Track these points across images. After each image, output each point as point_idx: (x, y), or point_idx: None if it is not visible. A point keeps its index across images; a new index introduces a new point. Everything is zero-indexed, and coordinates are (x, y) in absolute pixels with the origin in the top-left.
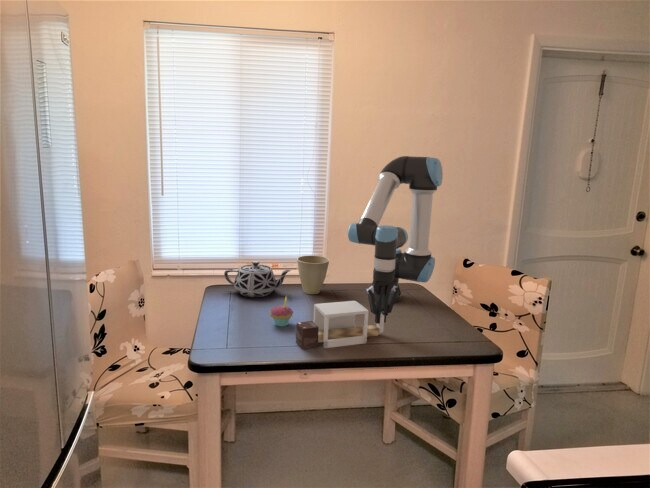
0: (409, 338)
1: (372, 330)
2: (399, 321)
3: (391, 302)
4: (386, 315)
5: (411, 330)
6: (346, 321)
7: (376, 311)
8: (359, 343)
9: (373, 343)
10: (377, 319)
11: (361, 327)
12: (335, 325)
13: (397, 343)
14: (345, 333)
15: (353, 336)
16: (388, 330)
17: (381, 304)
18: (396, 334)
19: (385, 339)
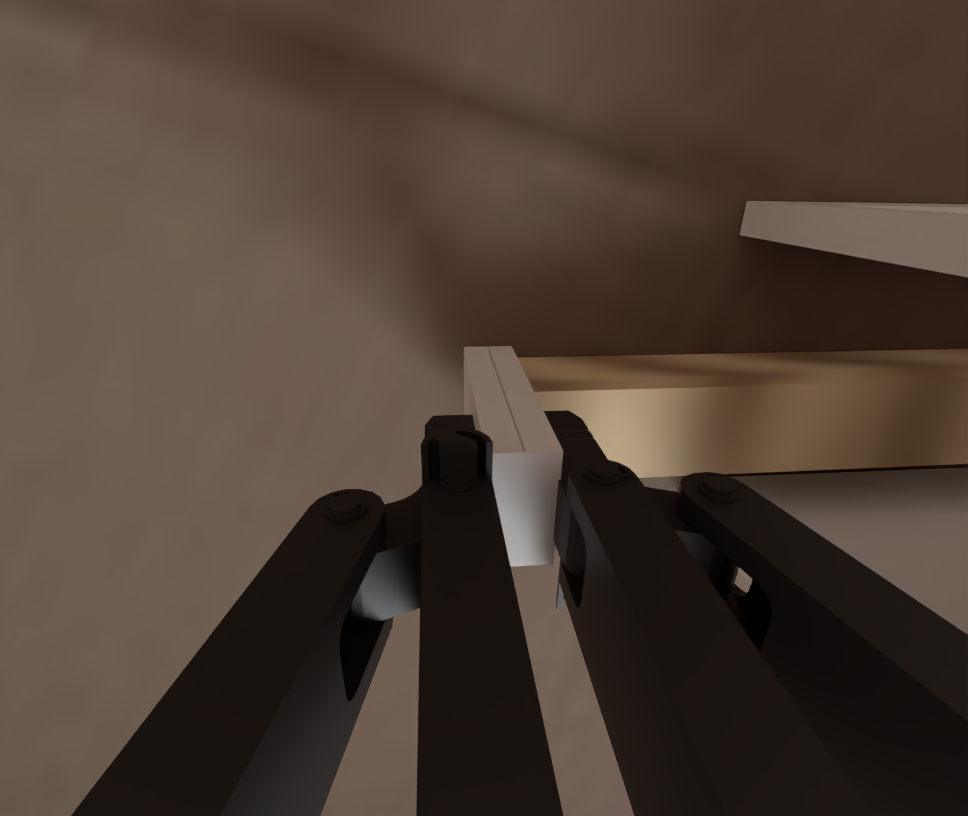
0: (150, 173)
1: (600, 379)
2: (114, 617)
3: (262, 721)
4: (456, 433)
5: (39, 394)
6: (861, 552)
7: (707, 509)
8: (833, 202)
9: (677, 168)
10: (586, 441)
11: (713, 444)
12: (951, 524)
13: (389, 65)
14: (931, 371)
15: (804, 358)
16: (328, 450)
17: (658, 651)
18: (280, 334)
19: (480, 236)
